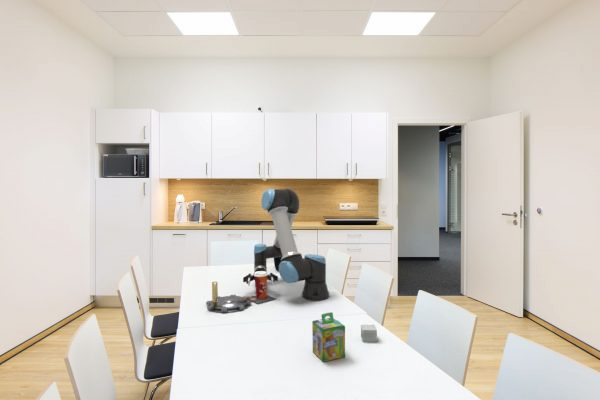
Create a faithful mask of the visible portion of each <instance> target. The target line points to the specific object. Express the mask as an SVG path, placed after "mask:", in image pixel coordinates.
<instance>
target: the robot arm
mask: <svg viewBox="0 0 600 400" xmlns="http://www.w3.org/2000/svg"><path fill="white" fill-rule="evenodd" d="M261 207H262V209H263V210H265V211H267V214H268V215H269V216H271V218H272V223H273V225H274V230H275V233H276V235H275V239H274V242H273V244H272V245H270V246H267V244H265V243H257V244H255V245H254V246H253V248H254V249H253V257H254V258H253V259H254V261H253V262H254V263H253V274H252V273H248V274H246V275H245V276H243V278H242V282H243V283H246V284H247V286H248V287H250V284H251V282H252V281H255V276H254V273H255V272H257V271H266V272H267V268H268V267H267V259H274V258H275V257H282V258H281V263H280V264H279V271H278V273H279V276H280V278H282V280H283V281H284V282H286V283H287V284H291V283H293V284H294V283H298V282H302V281H303V282H304V285H303V289H302V291H301V297H302V298H303V299H304V300H307V301H308V300H309V301H323V300H327V299H329V298H330V291H329V290H328V286H327V282H326V281H327V276H326V275H327V273H326V272H327V271H326V270H327V268H326V267H327V263H326V257H325V256H323V255H319V254H304V258H303V255H302V253H300V252H299V251H298V248H297V244H296V241H295V237H294V234H293V231H292V225H293V223H294V219H295V216H296V214H298V213H299V210H300V198H299V195H298V194H297V193H296V192H295V191H294V190H293V189H289V188H270V189H269V188H268V189H266V190H264V192H263V193H262V195H261ZM267 274H268V275H267V281H270V282H271V285H272V286H274V283H276V282H278V281H279V276H278V275H276V274H274V273H273V272H270V273H268V272H267Z"/></svg>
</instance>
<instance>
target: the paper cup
mask: <svg viewBox="0 0 600 400" xmlns="http://www.w3.org/2000/svg"><path fill="white" fill-rule="evenodd" d="M253 274H254V276H255V280H254V285H255V287H254V288H255V296H256V297H257V299H265V298H267V295H268V280H267V275H268V274H269V273H268V272H266V271H257V272H255V273H254V272H253Z"/></svg>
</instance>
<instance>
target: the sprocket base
mask: <svg viewBox="0 0 600 400" xmlns="http://www.w3.org/2000/svg"><path fill="white" fill-rule="evenodd" d="M208 306H210V305H206V308H207V310H208V311H210V312H212V313H219V314H231V313H232V314H233V313H238V312H241V311H244V310H247V309H248V308H249V307H250V306H251V304H247V305H246V306H244V309H241V310H239V309H233V310H228V311H227V312H221V310H217V309H213V310H210V309H208Z"/></svg>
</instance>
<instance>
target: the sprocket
mask: <svg viewBox="0 0 600 400" xmlns="http://www.w3.org/2000/svg"><path fill="white" fill-rule="evenodd" d="M218 288H219V287H218V281H212V282H211V297H212V299H211V300H207V301H206V302H205V305H206V306H207V305H210V306H208V309H210V310H213V309H217V310H221V312H227V311H228V310H233V309H239V310H241V309H244V306H246V305H247V304H250V305H252V303H253V302H252V300H248V299H249V297H250V296H247V295H242V296H240V295H236V294H230V295H226V296H225V295H224V296H219V295H218ZM208 309H207V310H208Z"/></svg>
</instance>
